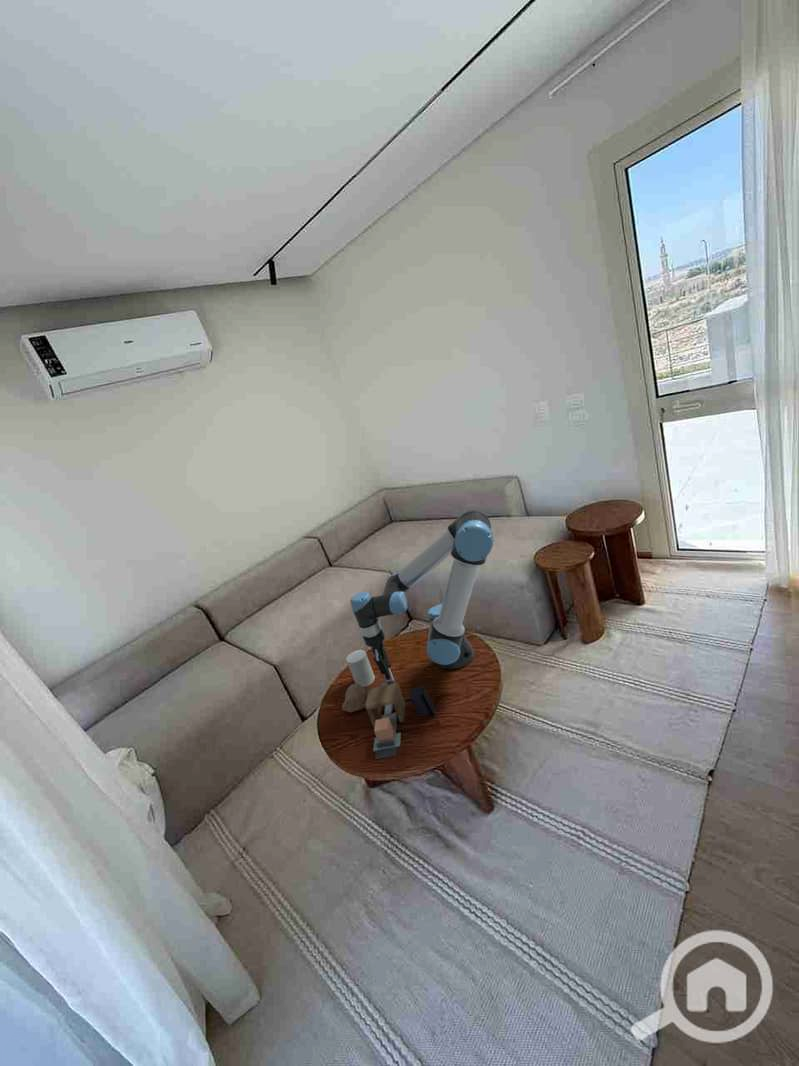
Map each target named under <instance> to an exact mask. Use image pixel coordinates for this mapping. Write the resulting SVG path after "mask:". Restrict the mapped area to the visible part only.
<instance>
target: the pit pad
mask: <svg viewBox="0 0 799 1066" xmlns="http://www.w3.org/2000/svg"><path fill="white" fill-rule="evenodd" d="M396 755H398V747H393V748H388V749H383V750H378V751H375V758H374V760H375V759H377V760H382V759H381V758H383V759H387V758H386V757H388V758H392V757H391V756H393V757H396Z"/></svg>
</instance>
